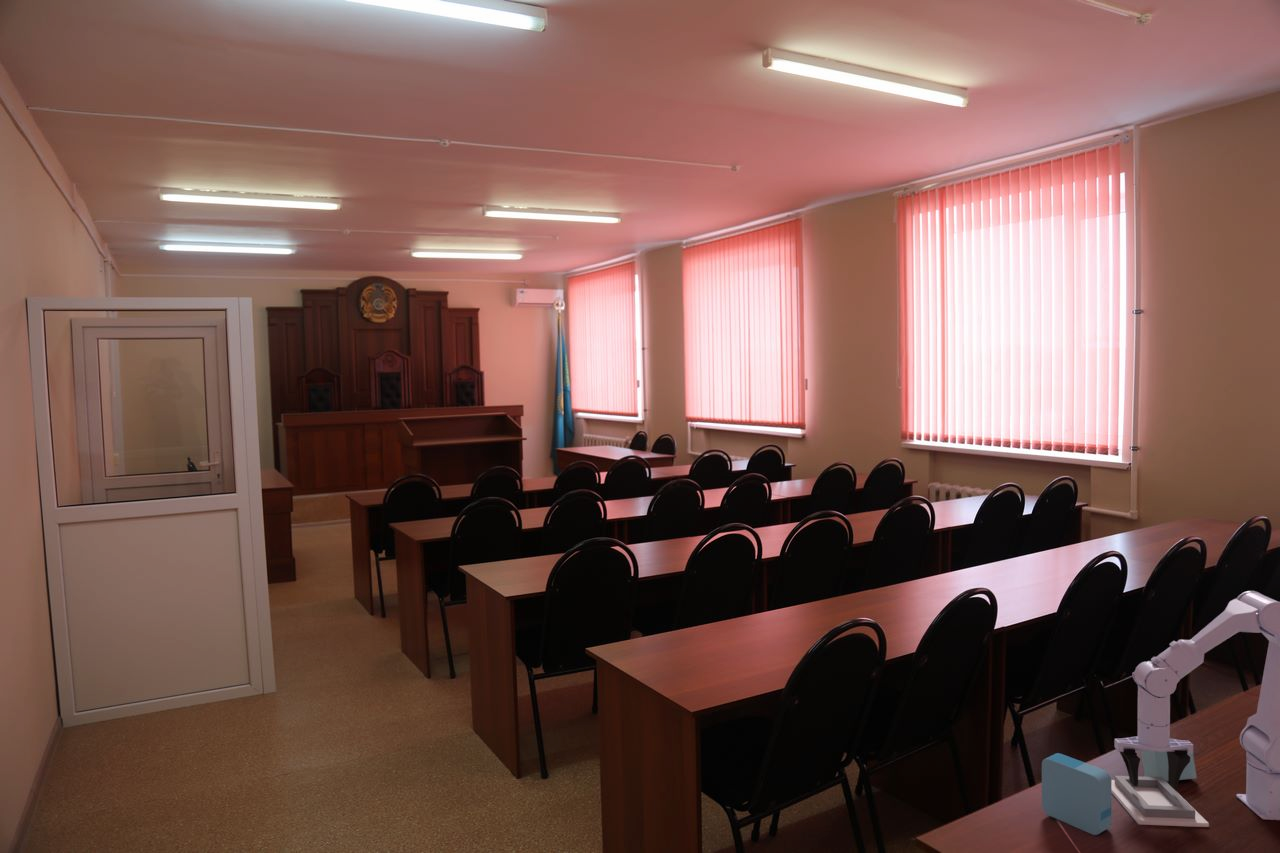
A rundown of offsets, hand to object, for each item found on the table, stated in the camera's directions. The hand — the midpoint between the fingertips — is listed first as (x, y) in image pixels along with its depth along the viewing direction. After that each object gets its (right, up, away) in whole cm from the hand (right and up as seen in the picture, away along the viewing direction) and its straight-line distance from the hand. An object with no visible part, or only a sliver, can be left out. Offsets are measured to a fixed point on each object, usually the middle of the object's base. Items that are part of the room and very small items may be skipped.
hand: (1153, 784), depth 174 cm
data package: (-19, -5, -5) cm, 21 cm away
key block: (+10, -3, +10) cm, 15 cm away
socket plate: (0, -4, 0) cm, 4 cm away
